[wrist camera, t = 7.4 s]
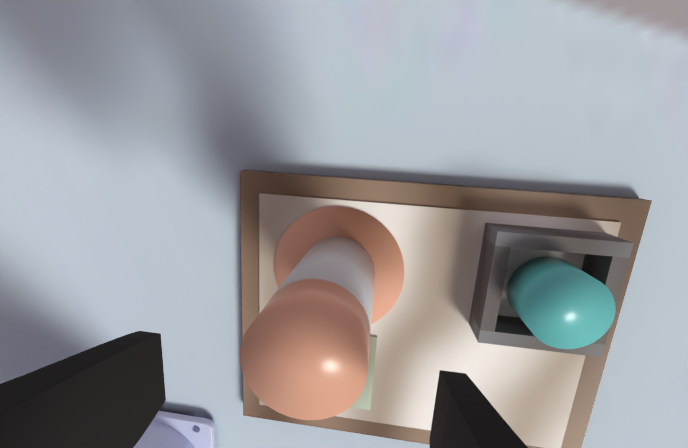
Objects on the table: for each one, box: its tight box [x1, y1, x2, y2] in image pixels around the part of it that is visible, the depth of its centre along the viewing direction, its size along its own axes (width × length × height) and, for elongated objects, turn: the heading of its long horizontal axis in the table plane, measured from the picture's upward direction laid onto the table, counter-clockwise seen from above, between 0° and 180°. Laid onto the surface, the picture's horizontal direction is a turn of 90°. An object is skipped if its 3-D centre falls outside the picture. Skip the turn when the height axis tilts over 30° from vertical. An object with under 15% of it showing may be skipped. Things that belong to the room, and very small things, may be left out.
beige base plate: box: [240, 170, 651, 448], centre depth 15 cm, size 18×14×2 cm
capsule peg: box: [240, 237, 375, 420], centre depth 12 cm, size 4×4×7 cm
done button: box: [507, 256, 616, 349], centre depth 13 cm, size 3×3×2 cm
